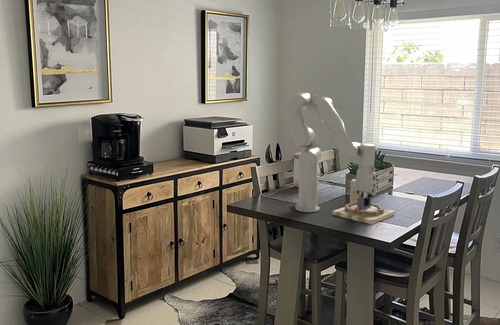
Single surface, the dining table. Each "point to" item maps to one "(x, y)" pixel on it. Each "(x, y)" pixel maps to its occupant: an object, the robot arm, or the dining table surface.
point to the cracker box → (296, 169)
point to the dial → (361, 206)
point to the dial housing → (364, 213)
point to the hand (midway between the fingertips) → (364, 204)
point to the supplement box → (354, 192)
